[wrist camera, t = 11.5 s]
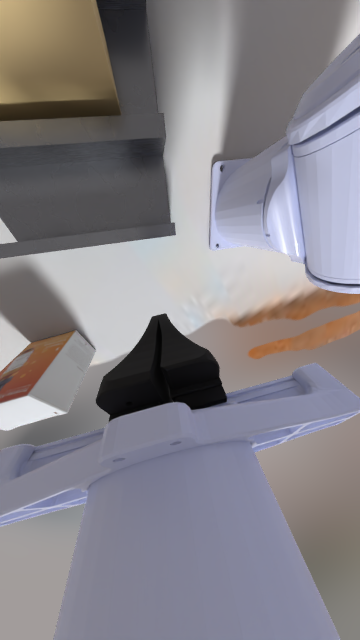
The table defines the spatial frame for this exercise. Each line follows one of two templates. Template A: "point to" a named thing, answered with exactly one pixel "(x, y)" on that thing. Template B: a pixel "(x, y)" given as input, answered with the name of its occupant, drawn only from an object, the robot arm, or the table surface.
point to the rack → (91, 158)
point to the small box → (43, 379)
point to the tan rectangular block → (54, 61)
